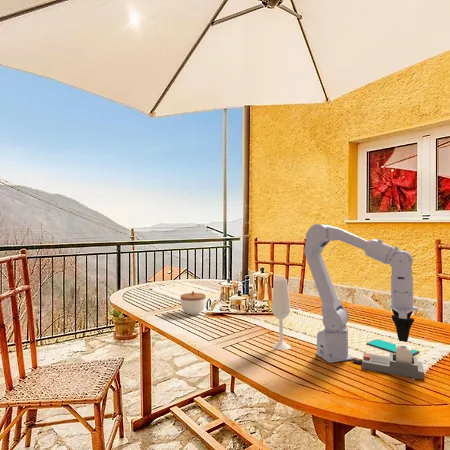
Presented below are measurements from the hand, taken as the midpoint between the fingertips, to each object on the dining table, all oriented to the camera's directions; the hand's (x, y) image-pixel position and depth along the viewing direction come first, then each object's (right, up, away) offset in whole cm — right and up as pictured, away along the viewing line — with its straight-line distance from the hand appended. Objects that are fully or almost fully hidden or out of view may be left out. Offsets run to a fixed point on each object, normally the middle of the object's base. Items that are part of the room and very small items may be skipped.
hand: (402, 337), depth 95 cm
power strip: (-4, -10, +2) cm, 11 cm away
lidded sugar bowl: (-69, -12, +67) cm, 96 cm away
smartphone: (+6, -11, +18) cm, 21 cm away
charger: (0, -8, 0) cm, 8 cm away
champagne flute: (-33, -11, +20) cm, 40 cm away
